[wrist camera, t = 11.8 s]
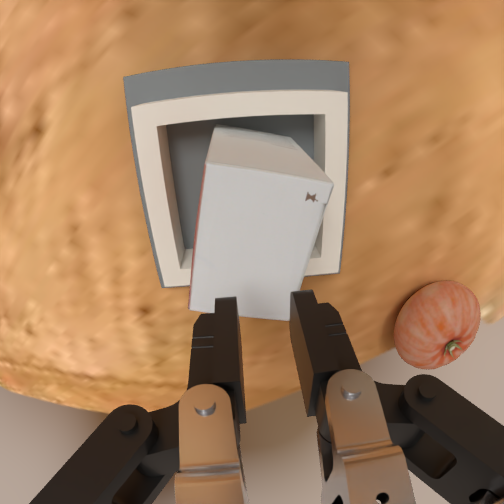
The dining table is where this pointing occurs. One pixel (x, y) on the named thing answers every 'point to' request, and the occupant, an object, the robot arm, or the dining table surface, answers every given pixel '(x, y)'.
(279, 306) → the small box
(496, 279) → the dining table surface
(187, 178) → the socket board
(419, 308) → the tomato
